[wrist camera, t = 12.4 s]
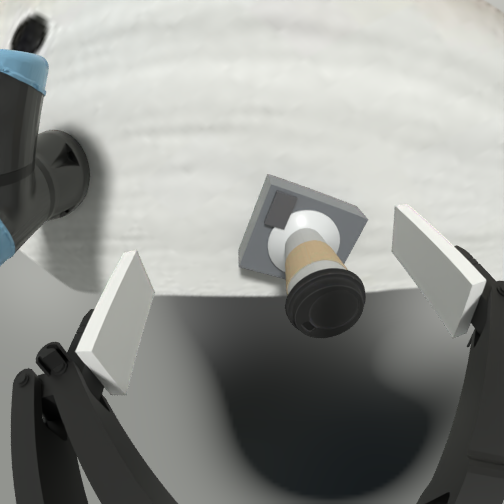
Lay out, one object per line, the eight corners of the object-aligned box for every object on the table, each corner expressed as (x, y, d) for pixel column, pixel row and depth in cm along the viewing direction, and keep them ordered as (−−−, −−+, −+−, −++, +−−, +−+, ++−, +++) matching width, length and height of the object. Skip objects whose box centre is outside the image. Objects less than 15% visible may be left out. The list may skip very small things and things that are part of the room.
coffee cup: (263, 260, 45) (273, 333, 33) (290, 206, 41) (314, 268, 28) (316, 277, 48) (341, 348, 35) (346, 229, 43) (385, 292, 30)
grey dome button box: (238, 250, 51) (238, 270, 46) (267, 173, 44) (271, 186, 39) (322, 273, 54) (330, 293, 49) (357, 206, 47) (370, 222, 42)
